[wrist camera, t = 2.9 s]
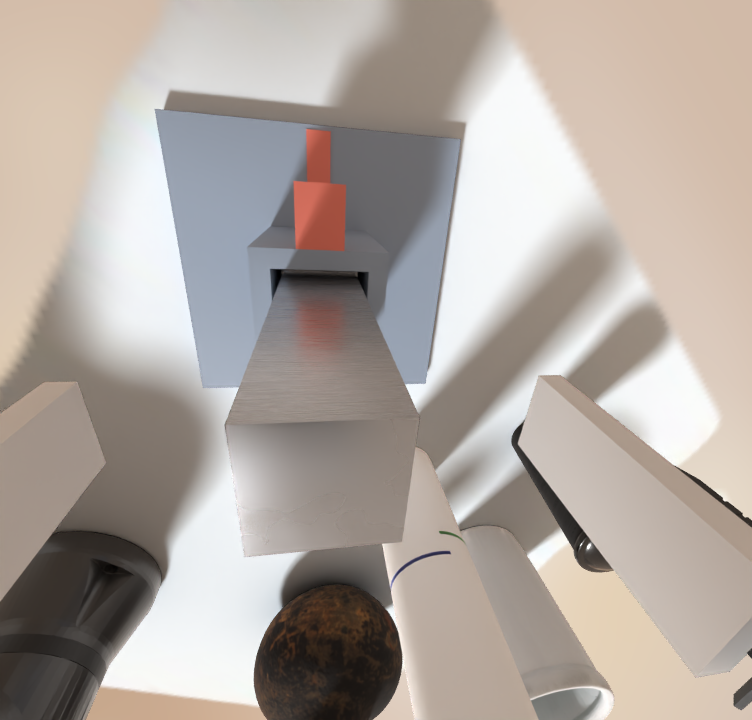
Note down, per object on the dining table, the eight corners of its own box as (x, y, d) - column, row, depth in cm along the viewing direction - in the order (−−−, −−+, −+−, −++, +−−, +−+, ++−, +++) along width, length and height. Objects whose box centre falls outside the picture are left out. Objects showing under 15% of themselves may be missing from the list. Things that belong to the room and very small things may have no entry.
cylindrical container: (371, 447, 38) (449, 819, 16) (435, 443, 39) (592, 785, 17) (368, 495, 41) (429, 863, 19) (427, 491, 42) (551, 832, 20)
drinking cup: (488, 457, 41) (619, 664, 23) (517, 403, 38) (692, 592, 20) (542, 465, 43) (701, 661, 25) (574, 414, 40) (778, 595, 22)
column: (292, 302, 28) (238, 561, 9) (290, 246, 26) (215, 418, 7) (345, 303, 29) (406, 545, 9) (347, 248, 27) (427, 411, 8)
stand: (206, 381, 32) (157, 468, 22) (162, 112, 23) (47, 57, 13) (422, 377, 35) (463, 452, 25) (454, 141, 26) (537, 114, 16)
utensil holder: (500, 503, 45) (596, 670, 29) (536, 558, 52) (631, 718, 36) (402, 556, 47) (444, 740, 31) (449, 603, 53) (504, 774, 38)
